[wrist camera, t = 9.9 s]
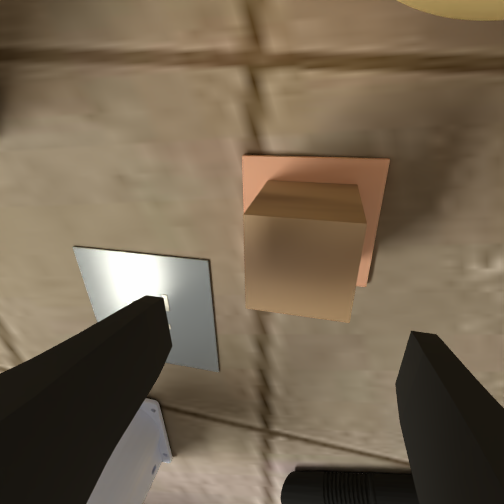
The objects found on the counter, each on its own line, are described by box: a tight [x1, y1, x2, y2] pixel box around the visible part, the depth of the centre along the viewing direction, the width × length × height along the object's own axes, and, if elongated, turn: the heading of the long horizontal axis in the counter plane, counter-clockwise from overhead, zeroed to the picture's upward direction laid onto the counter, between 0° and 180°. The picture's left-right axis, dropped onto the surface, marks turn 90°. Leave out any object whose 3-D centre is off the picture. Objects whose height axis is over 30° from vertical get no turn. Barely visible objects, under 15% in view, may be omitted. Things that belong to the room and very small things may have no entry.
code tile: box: [73, 246, 219, 372], centre depth 23 cm, size 10×10×1 cm
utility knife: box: [281, 471, 419, 504], centre depth 24 cm, size 22×4×3 cm, turn 111°
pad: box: [242, 155, 390, 287], centre depth 16 cm, size 7×7×1 cm
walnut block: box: [243, 180, 367, 323], centre depth 14 cm, size 4×4×5 cm
